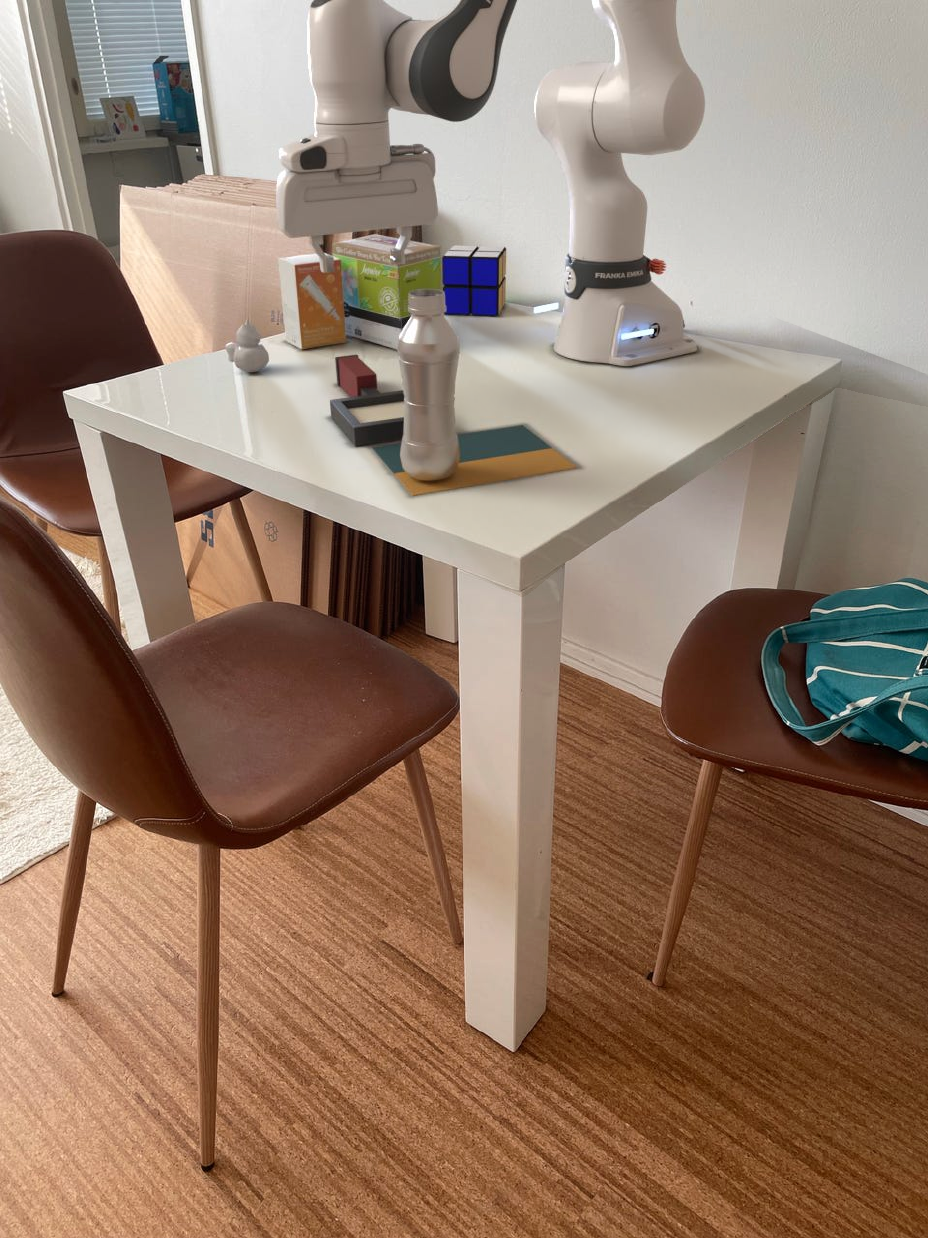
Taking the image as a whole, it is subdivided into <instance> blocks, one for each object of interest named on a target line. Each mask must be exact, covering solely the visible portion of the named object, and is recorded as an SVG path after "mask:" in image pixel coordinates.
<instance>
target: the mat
mask: <svg viewBox="0 0 928 1238" xmlns="http://www.w3.org/2000/svg"><path fill="white" fill-rule="evenodd" d="M457 436H458V441H459V447H460V459H459V465H458V468H457V469H456V471H455V472H454V474H453V475H451V476H450V477H448V478H445V479H441V480H432V481H426V480H418V479H414V478H412V477H410V476H408V474H407V473H406V472H405V471H404V469H403V467H402V463H401V458H400V450H401V442H399V443H393V444H386V445H379V446H373V447H372V449H373V451H374V452H375V453H376V455H378V457H379V458H380V459H381V460H382V462H383V463H384V464H385V465H386V466H387V467H388V469H389V470H390V471H391V472H392V474H394V476H396V478H397V479H398V480H399V482H400V483H401V484H402V485H403V486H404V488H405V489H406V490H407V491H408V492H409V493H410V495H411V496H412V497H415V496H422V495H427V494H433V493H438V492H445V491H451V490H457V489H462V488H468V487H474V486H480V485H485V484H491V483H498V482H505V481H509V480H510V481H511V480H516V479H521V478H527V477H534V476H539V475H545V474H551V473H557V472H563V471H568V470H569V471H570V470H575V469H578V467H577V466H576V465H575V464H573V463H572V462H571V461H569V460H568V459H567V458H566V457H564V456H563V455H562V454H561V453H559V452H558V451H557V450H556V449H554V448H553V447H552V446H550V445H549V444H548V443H547V442H545V441H544V440H543V439H541V438H540V437H539V436H537V435H536V434H535V433H533V432H532V431H531V430H530V429H529V428H527V427H526V426H525V425H523V424H521V425H520V424H519V425H514V426H507V427H500V428H493V429H487V430H480V431H473V432H466V433H459V434H457Z"/></svg>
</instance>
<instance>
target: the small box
mask: <svg viewBox="0 0 928 1238" xmlns="http://www.w3.org/2000/svg"><path fill="white" fill-rule="evenodd" d="M324 254H325V255H330V256H331V257H333V258H334V264H333V266H334V267H335V271H334V272H327V273H323V272H322V271H321V269H320V261H319V257H318V255H317V254H316V253H312V254H301V255H300V254H299V255H293V256H287V257H278V258H277V261H278V262H277V263H278V275H279V282H280V283H279V285H280V294H281V305H282V306H281V307H282V315H283V323H284V335H285V341H286V342H287V343H289V344H291V345H293V346H294V347H296V348H299V349H300V350H306V349H312V348H319V347H324V346H330V345H336V344H337V345H338V344H345V343H346V342H347V335H346V334H345V318H344V302H343V286H342V271H341V259H339V258H336V257H334V256H333V255H331V254H329V253H326V252H324Z"/></svg>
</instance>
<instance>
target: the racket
mask: <svg viewBox="0 0 928 1238" xmlns="http://www.w3.org/2000/svg"><path fill="white" fill-rule="evenodd" d="M334 357H335V358H334V362H335V371H336V372H335V373H336V374H335V375H336V385H337V386H338V387H340V388H341V389H342V390H343V391H344V392H345V393H346V394H347V395H348V397H341V398H334V399H329V407H330V418H331V419H332V420H333V422H334V423H335V424H336V425H337V426H338V428H339V429H340V430H341V431H342V432H343V434H344V435H345V436H346V437H347V438H348V439H349V441H350V442H351V443H352V444H353V446H354V447H361V446H368V445H374V444H380V443H388V442H394V441H400V440H401V441H402V437H403V428H404V410H405V405H404V397H405V396H404V393H403V389H400V390H394V391H387V392H381V391H380V390H378V380H377V377H378V375H377V373H376V372H375V371H373V369H372V368H371V367H369V366H368V365H367V364H366V363H365V362H364V361H363V360H362V359H361V358H360V357H359V355H358V354H349V355H341V356H334Z"/></svg>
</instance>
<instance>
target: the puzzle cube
mask: <svg viewBox="0 0 928 1238" xmlns="http://www.w3.org/2000/svg"><path fill="white" fill-rule="evenodd" d="M506 274H507V248H506V246H495V245H494V246H492V245H491V246H489V245H481V246H478V245H455V244H454V245H452V246H451V248H449V249H448V250H447V251H446V252H445V253H444V255H443V256H442V257H441V283H442V285H443V287H442V291H444V292H445V305H446V312H444V316H445V315H447V316H470V315H471V316H473V317H498V316H499V315H500V313H501V311H502V309H503V308H504V306H505V303H506V292H507V291H506V290H507V288H506V287H507V285H506V284H507V278H506Z"/></svg>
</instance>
